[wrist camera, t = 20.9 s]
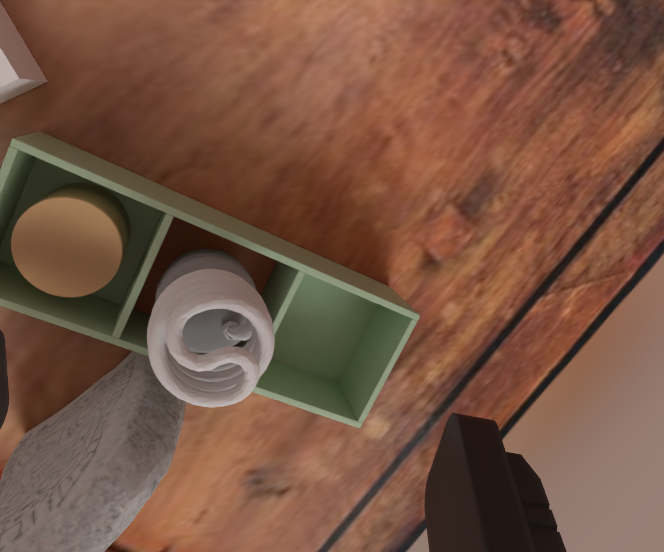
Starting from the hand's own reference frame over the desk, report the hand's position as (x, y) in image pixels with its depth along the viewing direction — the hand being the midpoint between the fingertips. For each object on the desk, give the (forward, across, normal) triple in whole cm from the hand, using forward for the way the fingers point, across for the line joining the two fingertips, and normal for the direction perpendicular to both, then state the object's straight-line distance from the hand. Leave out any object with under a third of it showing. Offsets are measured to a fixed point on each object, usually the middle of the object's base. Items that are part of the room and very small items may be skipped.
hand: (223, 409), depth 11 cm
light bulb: (+23, +5, +10) cm, 26 cm away
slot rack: (+24, +5, +10) cm, 26 cm away
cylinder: (+22, +12, +8) cm, 26 cm away
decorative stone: (+21, +10, +19) cm, 30 cm away
